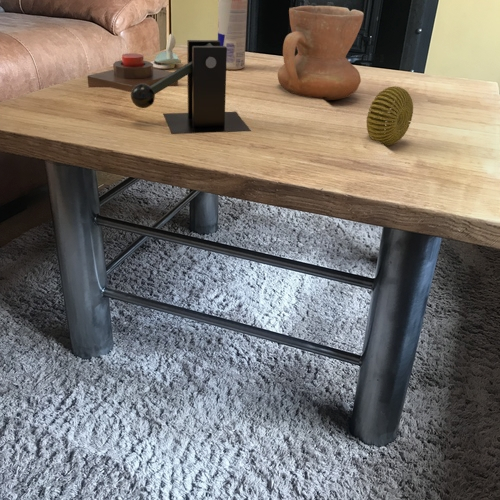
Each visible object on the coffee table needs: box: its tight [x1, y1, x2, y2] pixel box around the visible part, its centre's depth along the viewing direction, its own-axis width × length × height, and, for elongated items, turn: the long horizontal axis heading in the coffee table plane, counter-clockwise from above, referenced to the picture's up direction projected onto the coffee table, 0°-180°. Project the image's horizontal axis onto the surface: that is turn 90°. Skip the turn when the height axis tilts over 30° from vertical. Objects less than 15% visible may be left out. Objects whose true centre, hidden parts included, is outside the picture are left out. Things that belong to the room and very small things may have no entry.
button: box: [121, 52, 145, 67], centre depth 96 cm, size 4×4×2 cm
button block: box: [87, 59, 179, 93], centre depth 97 cm, size 12×10×4 cm
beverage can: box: [217, 0, 248, 71], centre depth 112 cm, size 6×6×15 cm
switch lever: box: [130, 43, 212, 109], centre depth 75 cm, size 13×3×3 cm, turn 105°
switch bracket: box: [162, 39, 252, 135], centre depth 77 cm, size 11×9×12 cm
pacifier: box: [149, 33, 182, 70], centre depth 111 cm, size 7×6×6 cm
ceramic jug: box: [277, 5, 365, 101], centre depth 96 cm, size 18×14×14 cm
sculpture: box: [366, 86, 414, 147], centre depth 77 cm, size 8×4×8 cm, turn 136°
